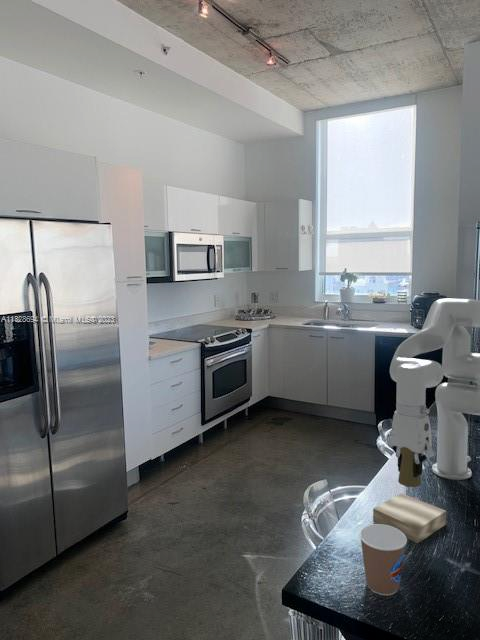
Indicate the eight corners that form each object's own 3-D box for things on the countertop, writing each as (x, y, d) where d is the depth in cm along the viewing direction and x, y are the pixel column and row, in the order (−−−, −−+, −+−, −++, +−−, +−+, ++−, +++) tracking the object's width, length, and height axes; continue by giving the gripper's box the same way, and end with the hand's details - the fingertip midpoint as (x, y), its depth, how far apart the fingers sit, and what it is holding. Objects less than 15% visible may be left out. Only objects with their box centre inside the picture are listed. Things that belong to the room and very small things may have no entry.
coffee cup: (399, 607, 102) (400, 554, 101) (352, 591, 108) (353, 540, 107) (411, 580, 111) (411, 531, 110) (367, 566, 117) (367, 519, 115)
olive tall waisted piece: (422, 487, 130) (423, 448, 129) (399, 486, 131) (400, 447, 130) (419, 478, 136) (419, 440, 135) (396, 476, 137) (397, 439, 136)
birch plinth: (401, 505, 145) (401, 493, 145) (445, 524, 134) (446, 510, 134) (373, 521, 136) (373, 508, 136) (417, 543, 125) (418, 528, 125)
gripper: (447, 413, 127) (445, 479, 129) (392, 400, 140) (391, 460, 142) (431, 419, 123) (430, 487, 125) (376, 405, 136) (376, 467, 138)
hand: (409, 472), depth 134 cm, fingers closed on olive tall waisted piece, 4 cm apart
